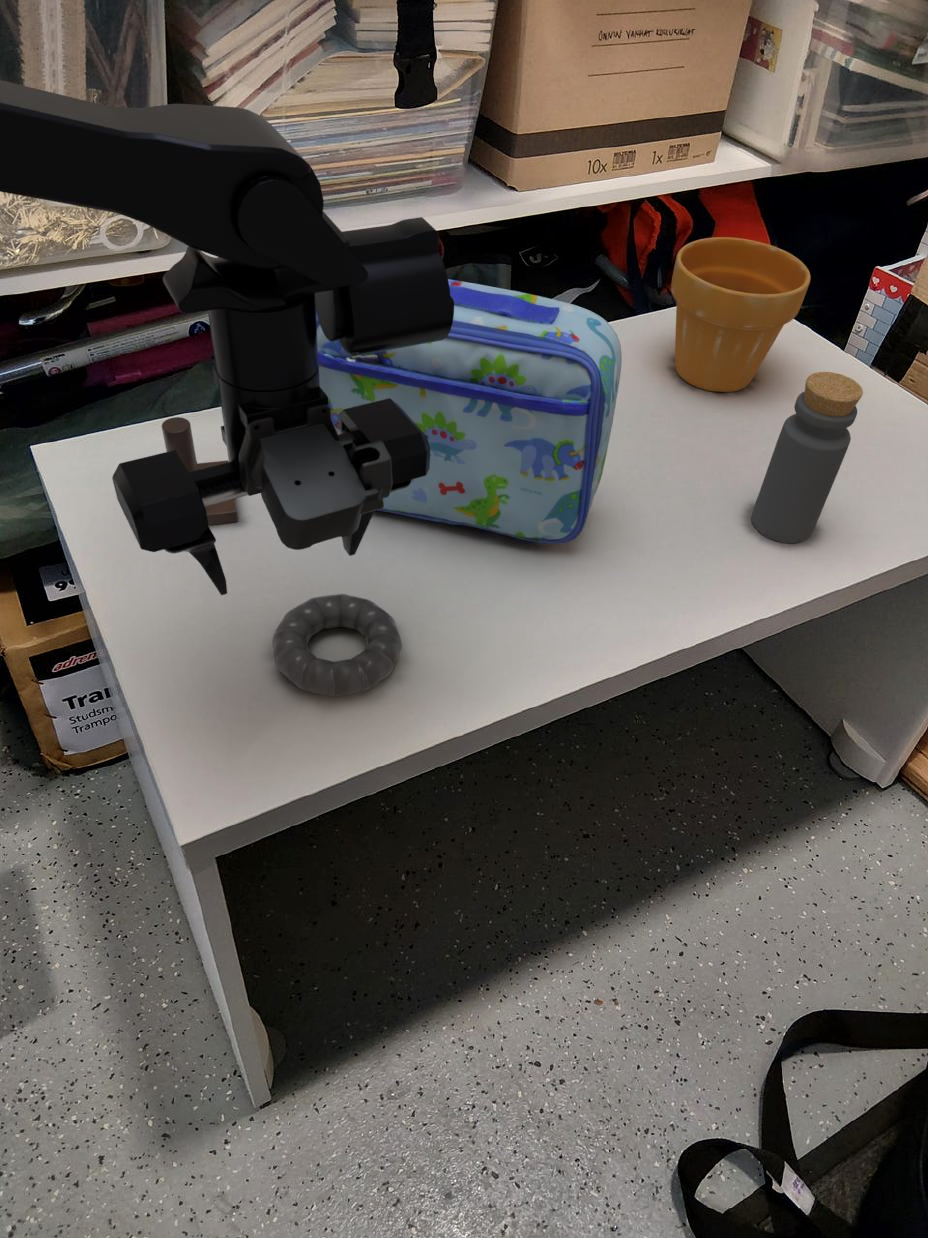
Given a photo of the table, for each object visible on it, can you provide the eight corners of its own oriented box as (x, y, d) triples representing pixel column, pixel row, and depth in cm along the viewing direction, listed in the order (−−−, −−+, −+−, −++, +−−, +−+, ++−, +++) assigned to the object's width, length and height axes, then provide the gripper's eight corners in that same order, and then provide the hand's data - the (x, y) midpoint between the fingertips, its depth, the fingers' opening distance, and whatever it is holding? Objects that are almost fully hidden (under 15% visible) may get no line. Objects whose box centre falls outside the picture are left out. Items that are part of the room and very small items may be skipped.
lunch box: (303, 503, 87) (287, 288, 72) (348, 442, 94) (341, 235, 80) (575, 572, 83) (617, 358, 68) (600, 502, 90) (642, 295, 75)
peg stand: (146, 532, 83) (128, 456, 77) (143, 479, 88) (126, 403, 82) (238, 521, 85) (227, 446, 79) (229, 470, 90) (219, 395, 84)
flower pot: (791, 367, 111) (827, 260, 102) (750, 420, 102) (786, 308, 93) (680, 331, 116) (706, 225, 106) (632, 378, 107) (656, 268, 98)
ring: (283, 712, 70) (280, 689, 68) (267, 620, 76) (264, 597, 74) (412, 690, 72) (412, 668, 70) (385, 603, 78) (386, 580, 77)
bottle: (785, 499, 92) (837, 362, 82) (825, 535, 89) (885, 396, 78) (738, 513, 90) (785, 374, 80) (777, 550, 86) (832, 410, 76)
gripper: (142, 486, 44) (190, 698, 55) (481, 400, 52) (464, 603, 63) (84, 373, 51) (137, 583, 62) (392, 311, 58) (390, 509, 69)
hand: (287, 570), depth 64 cm, fingers open, 9 cm apart
